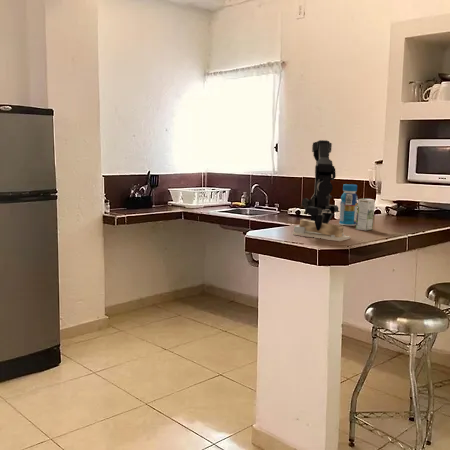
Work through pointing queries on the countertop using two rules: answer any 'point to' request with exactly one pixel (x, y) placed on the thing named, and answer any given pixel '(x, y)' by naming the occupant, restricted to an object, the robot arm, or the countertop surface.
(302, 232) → the bracket board
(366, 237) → the countertop surface
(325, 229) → the oak rail
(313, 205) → the robot arm
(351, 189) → the beverage bottle
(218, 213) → the countertop surface
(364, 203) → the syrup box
